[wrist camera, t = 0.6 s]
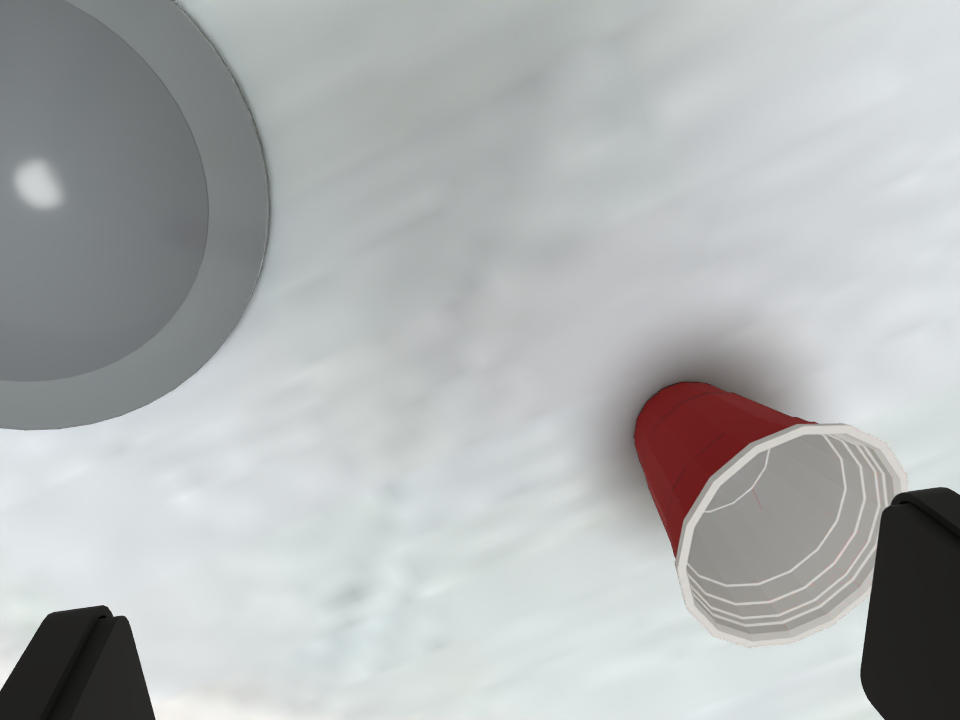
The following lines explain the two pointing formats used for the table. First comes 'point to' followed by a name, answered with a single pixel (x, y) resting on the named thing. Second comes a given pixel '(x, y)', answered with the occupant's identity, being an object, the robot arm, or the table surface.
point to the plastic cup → (764, 511)
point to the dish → (118, 207)
